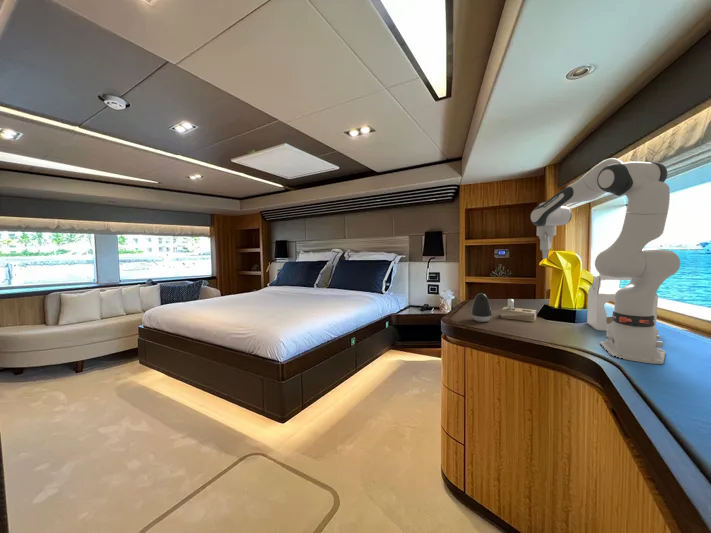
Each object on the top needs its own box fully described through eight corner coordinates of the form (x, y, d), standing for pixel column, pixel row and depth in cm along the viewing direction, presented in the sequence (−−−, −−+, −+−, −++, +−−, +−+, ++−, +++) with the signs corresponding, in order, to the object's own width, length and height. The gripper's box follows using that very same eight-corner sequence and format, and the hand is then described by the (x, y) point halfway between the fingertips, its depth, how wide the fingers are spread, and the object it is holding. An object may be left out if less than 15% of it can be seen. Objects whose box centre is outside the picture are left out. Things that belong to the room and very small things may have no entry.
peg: (512, 317, 168) (513, 300, 167) (507, 317, 170) (507, 299, 169) (513, 316, 170) (514, 299, 170) (508, 316, 172) (508, 298, 171)
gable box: (642, 326, 147) (645, 269, 144) (656, 334, 134) (660, 272, 132) (586, 323, 155) (588, 268, 153) (595, 330, 143) (597, 271, 141)
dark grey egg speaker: (471, 322, 160) (472, 294, 159) (470, 318, 170) (470, 291, 169) (492, 323, 157) (493, 295, 156) (490, 319, 167) (490, 291, 166)
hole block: (534, 321, 159) (534, 313, 159) (501, 317, 169) (501, 309, 168) (536, 318, 166) (536, 310, 166) (504, 314, 176) (504, 306, 176)
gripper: (551, 232, 152) (550, 259, 153) (554, 232, 168) (553, 257, 169) (537, 232, 155) (536, 259, 157) (541, 232, 172) (540, 257, 173)
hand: (545, 258), depth 163 cm, fingers open, 8 cm apart
